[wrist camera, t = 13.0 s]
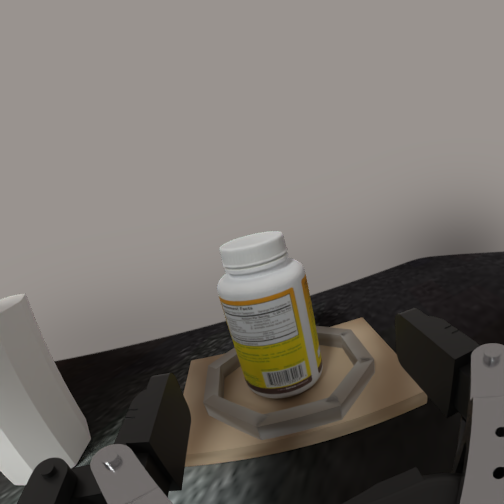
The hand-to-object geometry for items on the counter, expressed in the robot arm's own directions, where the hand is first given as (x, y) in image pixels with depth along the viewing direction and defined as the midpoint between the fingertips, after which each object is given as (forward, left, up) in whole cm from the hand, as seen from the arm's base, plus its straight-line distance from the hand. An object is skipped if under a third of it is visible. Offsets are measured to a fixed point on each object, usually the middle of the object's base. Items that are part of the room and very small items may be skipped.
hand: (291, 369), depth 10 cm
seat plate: (0, +10, -9) cm, 13 cm away
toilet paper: (-21, +6, -9) cm, 24 cm away
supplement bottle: (0, +10, -7) cm, 12 cm away
